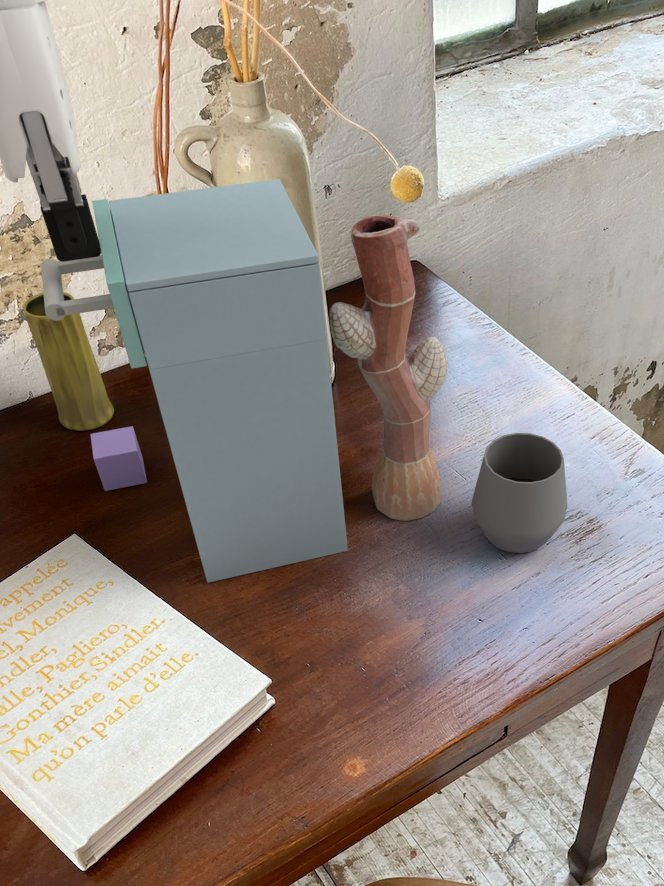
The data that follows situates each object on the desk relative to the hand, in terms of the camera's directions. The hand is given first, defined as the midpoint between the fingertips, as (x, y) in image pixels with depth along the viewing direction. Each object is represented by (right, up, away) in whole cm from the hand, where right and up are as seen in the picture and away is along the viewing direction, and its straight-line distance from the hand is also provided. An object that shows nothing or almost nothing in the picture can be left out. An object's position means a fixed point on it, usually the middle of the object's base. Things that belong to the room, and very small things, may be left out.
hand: (79, 253), depth 68 cm
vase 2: (+22, -16, +28) cm, 39 cm away
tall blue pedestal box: (+9, -18, +25) cm, 32 cm away
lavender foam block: (-7, -13, +30) cm, 33 cm away
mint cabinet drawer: (+6, -3, +6) cm, 9 cm away
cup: (+35, -20, +24) cm, 47 cm away
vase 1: (-14, -5, +37) cm, 39 cm away
